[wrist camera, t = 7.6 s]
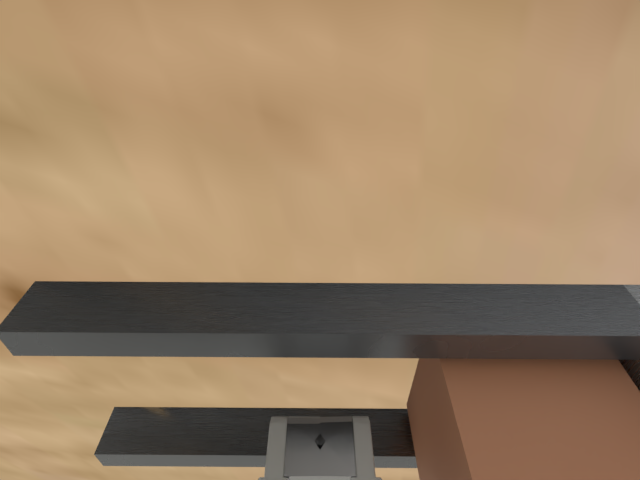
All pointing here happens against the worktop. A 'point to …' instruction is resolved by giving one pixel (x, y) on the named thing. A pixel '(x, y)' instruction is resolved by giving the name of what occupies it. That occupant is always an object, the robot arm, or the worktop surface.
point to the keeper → (524, 419)
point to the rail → (307, 345)
